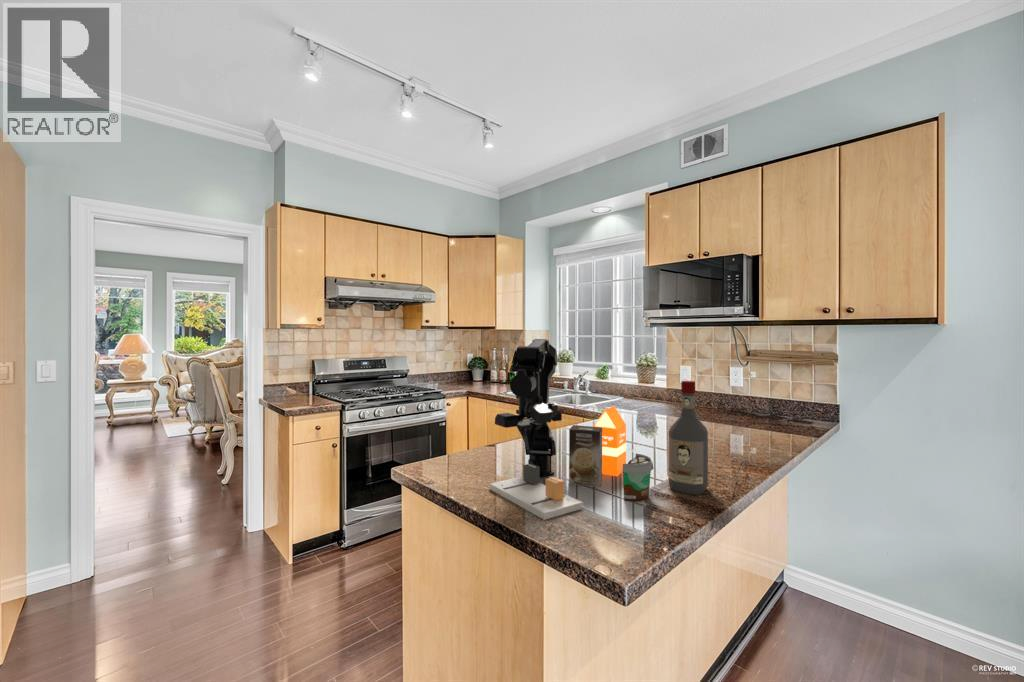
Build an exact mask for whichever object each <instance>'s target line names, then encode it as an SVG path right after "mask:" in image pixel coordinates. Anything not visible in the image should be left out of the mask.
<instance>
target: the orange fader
mask: <svg viewBox="0 0 1024 682" xmlns="http://www.w3.org/2000/svg"><path fill="white" fill-rule="evenodd" d="M544 482H545V485H546V496H547V497H549V498H551V499H553V500H555V501H556V500H559V499H563V498H564V494H565V481H564V480H562V479H560V478H558V477H556V476H549V477H548V478H545V481H544Z"/></svg>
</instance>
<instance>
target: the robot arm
mask: <svg viewBox="0 0 1024 682" xmlns="http://www.w3.org/2000/svg"><path fill="white" fill-rule="evenodd" d="M558 360H559V359H558V354H557V349H556V348H555V347H554V346H553V345H551V343H550V340H549V339H547V338H535V339H532V341H531V343H529V344H528V345H518V346H517V347H516V349H514V352H513V357H512V366H511V370H510V371H511V372H516V375H514V376H513V377H512V378H511V380H510V383H509V389H510V392H511V393H512V394H513V395H514V396H515V399H516V400H518V409H516V410H515V413H516V414H513V413H510V412H504V413H497V414H496V416H495V417H494V425H496V426H499V427H502V428H506V429H507V428H517V430H518V432H519V433H520V435H521V437H522V440H523V442H524V449H525V451H524V452H525V455H526V456H528V455H529V456H528V457H529V458H528V463H527V464H534V465H536V466H539V467H540V478H543V477H549V476H552V475H555V471H553V470H552V457H554V456H556V455H557V449H556V448H557V447H556V446H557V445H556V441H555V440H554V437H553V436H552V434H553V433H552V430H551V428H550V427H549V424H548V423H552V422H561V421H563V415H562V412H561V410H560V409H559V408H558V407H559V406H558V404H557V403H556V402H549V401H550V399H549V397H550V384H551V383H550V382H551V379H552V377H553V375H554V374H555V373H556V366H558V363H559V361H558Z"/></svg>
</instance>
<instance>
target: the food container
mask: <svg viewBox="0 0 1024 682" xmlns="http://www.w3.org/2000/svg"><path fill="white" fill-rule="evenodd" d="M652 470H654V463H653V460H652V459H651V457H649V456H647V455H645V454H641V453H635V457H634V458H632V459H630V460H628V462H626V464H624V463H623V466H622V478H623V479H622V480H623V481H622V483H623V501H624V502H629V503H631V502H633V503H637V502H638V503H639V502H640V503H641V502H645V501H648V499H650V498H649V497H650V486H651V483H650V482H651V474H652V473H651V472H652Z"/></svg>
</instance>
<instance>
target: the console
mask: <svg viewBox="0 0 1024 682" xmlns="http://www.w3.org/2000/svg"><path fill="white" fill-rule="evenodd" d="M489 490H490V491H493V492H494V493H496V494H498V495H499V496H501V497H503V498H505V499H506V500H508V501H510V502H512V503H514V504H515V505H517V506H519V507H521V508H522V509H523V510H526V511H527V512H530V514H533V515H534V516H537V517H539V518H540V519H541V520H543V521H545V520H548V519H551V518H552V519H553V518H554V517H558V516H562V515H566V514H569V513H571V512H572V513H573V512H576V511H579V510H582V509H583V504H584V503H583V502H582V501H581V500H579V499H577V498H574V497H572V496H570V495H568V494H565V493H564V498H563V499H559V500H556V501H555V500H553V499H551V498H549V497H547V496H546V484H544V483H542V482H540V483H536V484H529V483H527V482H525V481H523V475H522V476H517V477H513V478H509V479H504V480H500V481H495V482H491V483H489Z"/></svg>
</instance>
